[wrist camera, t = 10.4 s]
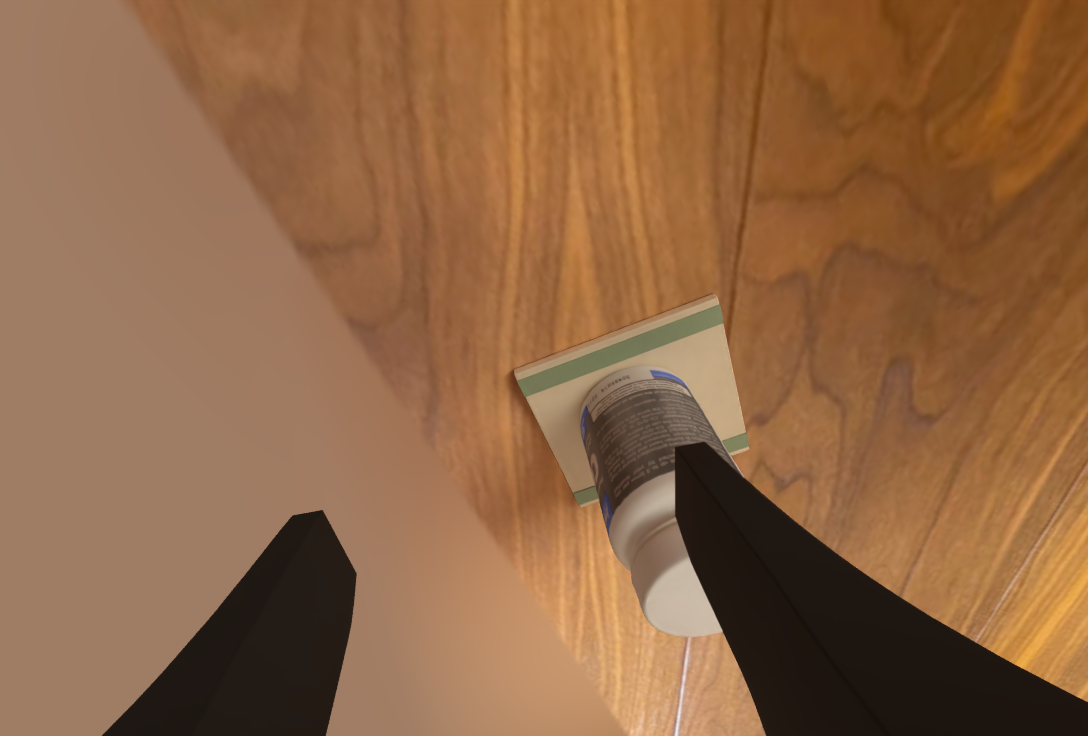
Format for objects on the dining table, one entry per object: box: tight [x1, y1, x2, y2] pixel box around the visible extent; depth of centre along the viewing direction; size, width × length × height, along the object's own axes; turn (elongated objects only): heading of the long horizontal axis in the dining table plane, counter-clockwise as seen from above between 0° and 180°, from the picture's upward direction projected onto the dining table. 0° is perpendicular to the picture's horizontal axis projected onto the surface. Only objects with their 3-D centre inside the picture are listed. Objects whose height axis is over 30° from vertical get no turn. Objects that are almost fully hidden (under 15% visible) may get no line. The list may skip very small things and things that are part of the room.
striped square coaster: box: [514, 294, 749, 508], centre depth 22 cm, size 8×8×1 cm
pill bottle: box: [580, 366, 744, 637], centre depth 18 cm, size 5×5×8 cm
